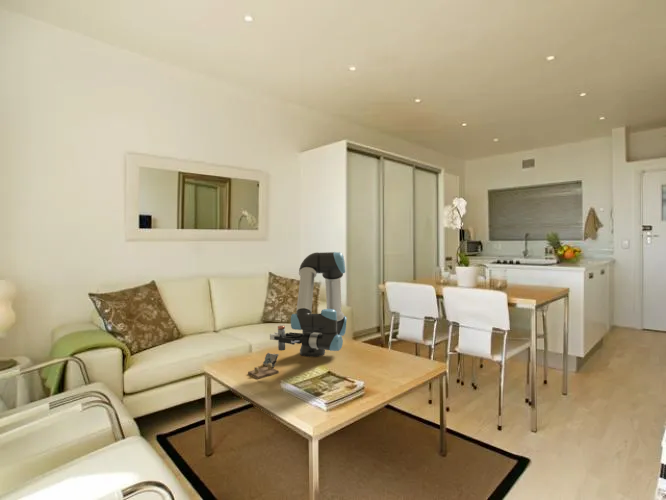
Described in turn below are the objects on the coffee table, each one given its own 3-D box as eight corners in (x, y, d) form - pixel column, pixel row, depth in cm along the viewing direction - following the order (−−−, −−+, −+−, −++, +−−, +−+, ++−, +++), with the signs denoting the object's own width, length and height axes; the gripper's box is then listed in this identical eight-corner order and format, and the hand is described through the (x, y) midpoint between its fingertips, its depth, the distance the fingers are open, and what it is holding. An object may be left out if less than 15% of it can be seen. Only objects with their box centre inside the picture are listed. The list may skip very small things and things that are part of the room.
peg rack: (268, 368, 201) (267, 361, 201) (278, 373, 194) (278, 365, 193) (248, 374, 193) (247, 366, 193) (258, 379, 185) (258, 371, 185)
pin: (282, 348, 195) (282, 325, 195) (286, 349, 193) (286, 326, 192) (276, 349, 193) (276, 326, 193) (281, 351, 190) (280, 327, 190)
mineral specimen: (266, 374, 206) (283, 369, 205) (260, 368, 200) (278, 363, 199) (265, 358, 213) (282, 353, 212) (259, 352, 207) (277, 347, 206)
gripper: (303, 352, 177) (263, 347, 188) (320, 343, 192) (281, 339, 202) (303, 336, 177) (262, 332, 187) (319, 328, 192) (281, 325, 202)
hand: (272, 335), depth 195 cm, fingers closed on pin, 3 cm apart
